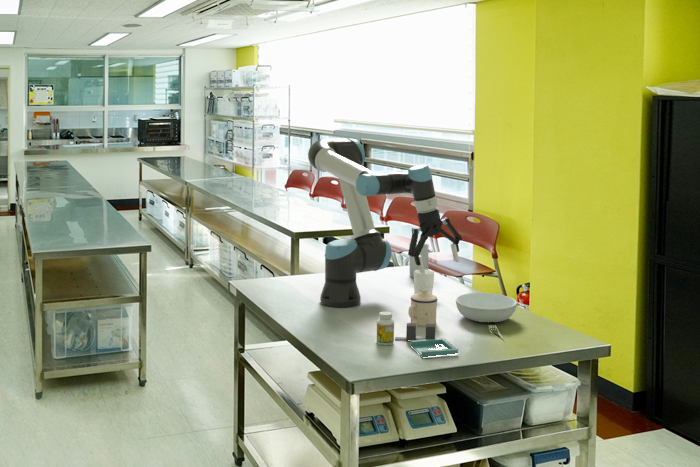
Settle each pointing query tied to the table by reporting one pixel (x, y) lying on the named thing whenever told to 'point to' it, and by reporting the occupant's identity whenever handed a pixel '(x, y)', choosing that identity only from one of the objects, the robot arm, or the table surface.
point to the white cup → (423, 281)
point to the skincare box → (424, 258)
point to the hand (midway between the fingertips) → (439, 267)
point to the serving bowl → (486, 306)
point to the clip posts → (412, 332)
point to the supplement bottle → (385, 329)
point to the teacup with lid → (423, 308)
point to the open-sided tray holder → (424, 345)
